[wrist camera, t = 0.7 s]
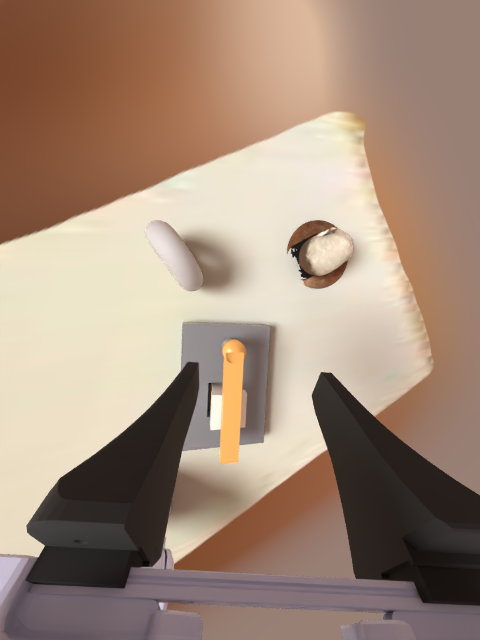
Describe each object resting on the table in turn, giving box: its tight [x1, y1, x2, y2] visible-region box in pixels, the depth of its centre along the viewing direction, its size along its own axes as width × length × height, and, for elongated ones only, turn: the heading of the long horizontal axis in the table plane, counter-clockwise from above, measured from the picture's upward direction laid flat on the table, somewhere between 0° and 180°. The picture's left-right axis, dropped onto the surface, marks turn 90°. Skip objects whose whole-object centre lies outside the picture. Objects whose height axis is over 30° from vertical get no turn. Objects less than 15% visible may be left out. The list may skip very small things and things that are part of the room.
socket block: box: [181, 322, 270, 451], centre depth 32 cm, size 20×14×7 cm
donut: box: [145, 220, 203, 291], centre depth 27 cm, size 10×4×10 cm, turn 36°
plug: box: [210, 382, 247, 430], centre depth 32 cm, size 8×5×6 cm, turn 177°
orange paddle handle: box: [219, 339, 246, 464], centre depth 27 cm, size 16×3×2 cm, turn 177°
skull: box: [287, 220, 353, 288], centre depth 36 cm, size 12×10×10 cm
